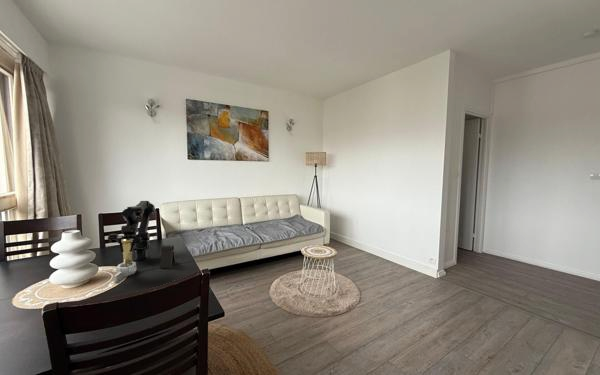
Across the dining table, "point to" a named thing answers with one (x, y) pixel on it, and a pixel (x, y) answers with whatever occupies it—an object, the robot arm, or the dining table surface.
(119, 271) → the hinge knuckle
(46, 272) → the dining table surface
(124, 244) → the yellow tall cylinder
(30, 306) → the dining table surface
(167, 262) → the door stopper
